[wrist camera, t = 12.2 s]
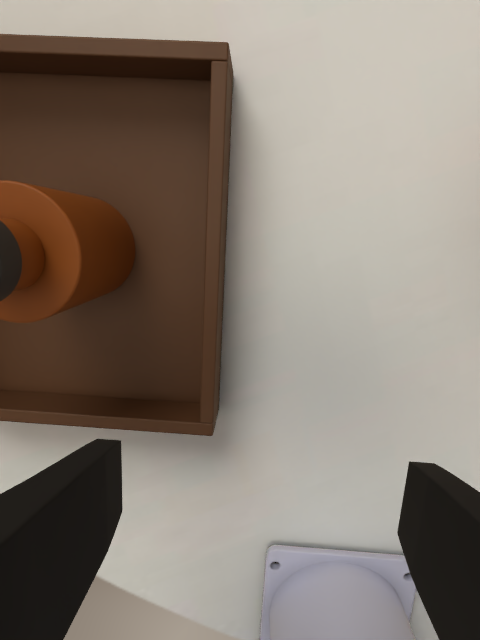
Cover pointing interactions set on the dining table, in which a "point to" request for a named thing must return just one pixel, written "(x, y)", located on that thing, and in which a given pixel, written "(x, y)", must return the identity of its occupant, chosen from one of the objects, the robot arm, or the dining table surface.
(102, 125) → the tray
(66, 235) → the bottle
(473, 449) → the dining table surface
